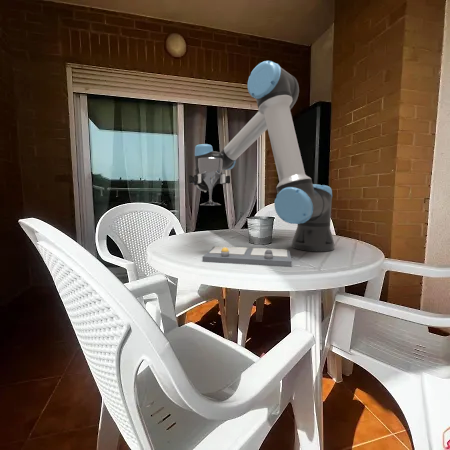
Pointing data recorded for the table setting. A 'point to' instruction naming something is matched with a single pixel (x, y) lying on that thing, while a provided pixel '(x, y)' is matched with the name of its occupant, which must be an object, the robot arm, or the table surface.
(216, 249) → the indicator board
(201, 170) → the wine glass
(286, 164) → the robot arm
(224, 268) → the table surface
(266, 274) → the table surface
